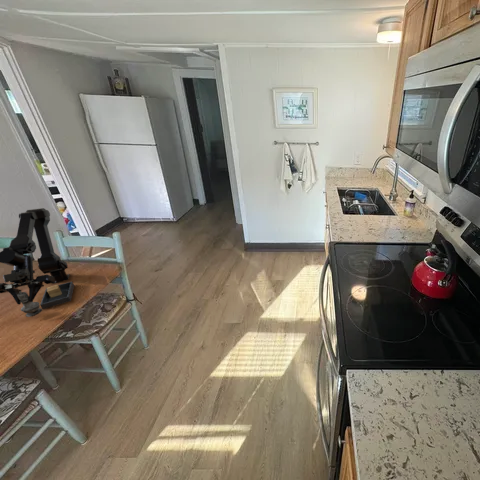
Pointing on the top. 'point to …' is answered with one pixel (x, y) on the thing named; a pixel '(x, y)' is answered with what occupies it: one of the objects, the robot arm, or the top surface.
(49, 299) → the tray
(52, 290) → the block
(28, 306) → the grey statuette
